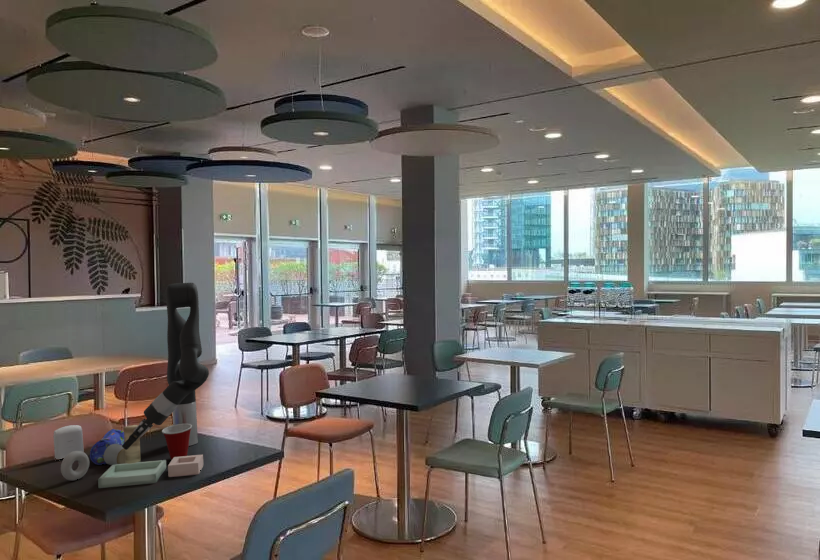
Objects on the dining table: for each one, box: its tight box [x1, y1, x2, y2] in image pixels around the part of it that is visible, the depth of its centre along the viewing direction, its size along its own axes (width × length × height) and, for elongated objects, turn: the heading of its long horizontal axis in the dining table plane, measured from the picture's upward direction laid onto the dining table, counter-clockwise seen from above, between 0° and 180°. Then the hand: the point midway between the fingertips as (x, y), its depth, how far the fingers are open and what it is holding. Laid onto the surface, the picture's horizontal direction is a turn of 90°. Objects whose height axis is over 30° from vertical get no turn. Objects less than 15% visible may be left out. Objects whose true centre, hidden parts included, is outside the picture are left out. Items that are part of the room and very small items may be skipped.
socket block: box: [167, 454, 204, 478], centre depth 216 cm, size 10×10×4 cm
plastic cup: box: [161, 424, 192, 461], centre depth 232 cm, size 11×11×12 cm
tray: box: [97, 459, 167, 489], centre depth 211 cm, size 16×18×3 cm
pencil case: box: [89, 428, 125, 466], centre depth 238 cm, size 22×9×10 cm, turn 12°
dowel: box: [123, 424, 142, 464], centre depth 211 cm, size 5×5×12 cm
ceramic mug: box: [104, 444, 126, 466], centre depth 228 cm, size 11×8×8 cm
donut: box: [60, 451, 90, 481], centre depth 212 cm, size 10×4×10 cm, turn 154°
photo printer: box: [53, 424, 85, 459], centre depth 240 cm, size 10×4×12 cm, turn 137°
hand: (126, 445), depth 211 cm, fingers closed on dowel, 4 cm apart
